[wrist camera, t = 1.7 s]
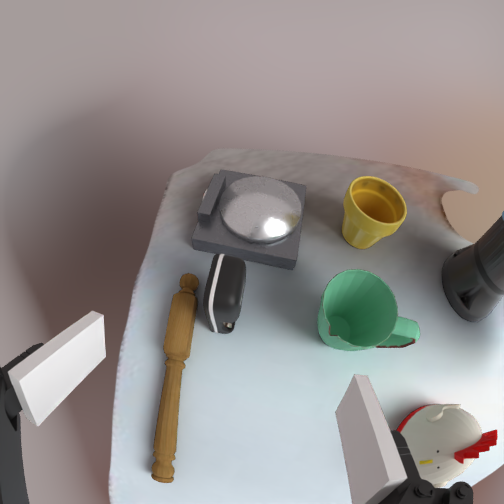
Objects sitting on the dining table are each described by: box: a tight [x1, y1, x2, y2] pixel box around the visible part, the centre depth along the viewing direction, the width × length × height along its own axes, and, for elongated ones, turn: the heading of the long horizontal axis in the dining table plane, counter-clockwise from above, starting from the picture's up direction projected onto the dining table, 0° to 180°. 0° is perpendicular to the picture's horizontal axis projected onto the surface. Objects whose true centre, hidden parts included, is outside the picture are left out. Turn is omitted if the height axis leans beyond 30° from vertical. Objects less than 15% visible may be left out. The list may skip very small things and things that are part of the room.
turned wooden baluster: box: [151, 273, 199, 483], centre depth 32 cm, size 3×3×30 cm
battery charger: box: [203, 254, 246, 334], centre depth 34 cm, size 7×4×11 cm, turn 171°
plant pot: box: [342, 176, 407, 249], centre depth 43 cm, size 10×10×10 cm
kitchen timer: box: [396, 404, 497, 488], centre depth 21 cm, size 14×14×15 cm
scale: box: [191, 170, 306, 270], centre depth 45 cm, size 16×16×5 cm
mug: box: [317, 269, 420, 351], centre depth 33 cm, size 15×10×10 cm
